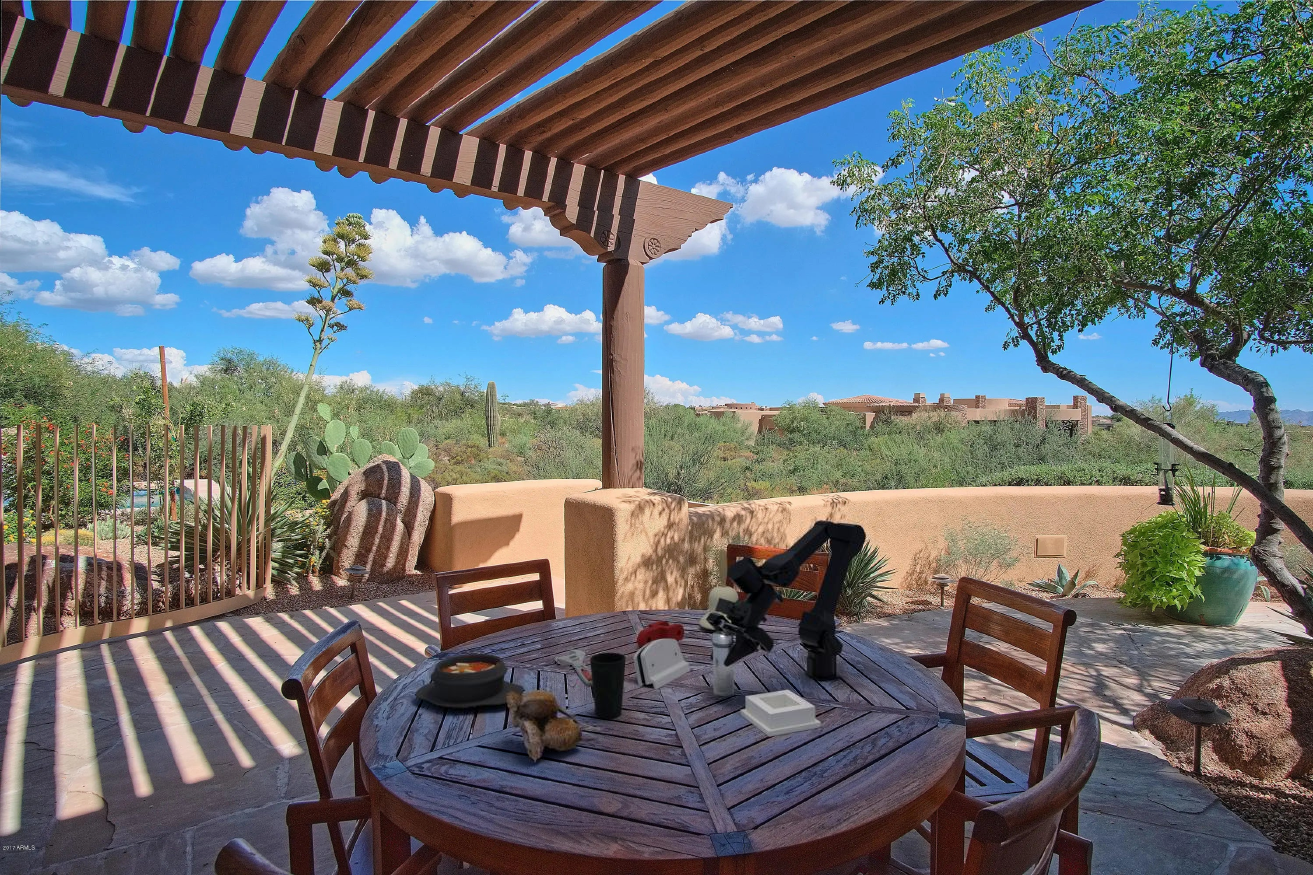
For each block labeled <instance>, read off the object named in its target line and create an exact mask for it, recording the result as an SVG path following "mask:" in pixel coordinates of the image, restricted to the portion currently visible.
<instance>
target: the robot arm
mask: <svg viewBox="0 0 1313 875" xmlns="http://www.w3.org/2000/svg"><path fill="white" fill-rule="evenodd" d="M866 538H867V534H866V532H865V529H864V528H863V526H862V525H860V524H854V523H848V522H838V523H837V522H834V521H830V520H823V519H821V520H817V521H815V522H814V523H813V526H812V527H811V528H810V529H809V530H808V531H806V532H805V533H804V534H803V535H802V536H801V537H800V538H799V539H797V541H795V542H794V543H793V544H792V545H791V546H790V547H789V548H788V549H787V550H786V551H785V550H784V552H781V553H778V554H775V555H773V556H771V557H769V558H768V559H767V560H765V561H764V562H763V563H762V564H761V565H757V564H756V563H755V561H754V559H753V558H752V557H751V556H746V555H745V556H743V558H742V559H739V560H738V561H736V562H734V563H733V564H731V565H730V567H729V568H728V569H727V577H728V579H730V580H731V582H732V583H733V584H734V585H735V587H737V588H738V589H739V591H740V592H741V593H743V594H744V595H747V596H746V597H745V599H744V600H741V599H738V600H737V601H736V602H732V601H729V600H726V599H722V598H719V600H718V603H717V606H716V609H715V611H716V612H721V613H723V614H726V615H727V616H726V617H727V619H728V620H730V621H731V623H730V622H729V621H728V620H727V619H726V618H725V617H724V616H723V615H721V614H718V613H715V612H713V613H710V614H709V615H708V617H707V618H706V621H707V622H708V623H709V624H710V625H711V626H712V627H713V628H714V629H715V630H714V632H717V631H728V632H732V633H733V635H734V634H735V640H734V646H733V647H732V649H731V651H730V652H729V654H728V656H727V658H726V660H725V662H724V665H725V666H726V667H728V666H730V665H732V664H733V663H734V664H735V663H737V662H739V661H740V660H741V659H744V658H745V657H748V656H750V655H751V654H753V653H758V652H759V649H760V650H761V651H762V652H765V653H768V654H770V653H771V652H772V650H773V648H774V646H775V642H774V641H775V640H774V639H773V638H772V637H771V636H770V634H769V633H768V632H767V631H765V629H764V628H762V627H760V624H761V623H764V624H765V623H766V622H767V620H768V618H767V617H766V615H767V614H768V612H769V610H770V609H771V607H772V606H773V604H774V602H776V603H780V604H783V603H784V597H783V594H782V593H783V592H782V590H779V589H776V588H775V587H774V586H777V587H781V588H788V587H790V586H791V585H793V583H794V582H795V580H796V579H797V578H798V577H799V575H800V571H801V567H802V566H803V565H804V564H805V563H806V562H807V561H808V560H809V559H810V558H811V557H812V556H813V555H814V554H815V553H816V552H817V551H818V550H819V549H821V547H823V546H824V544H826V543H827V542H828V541H829V548H830V552H831V553H830V556H829V560H828V564H827V568H826V570H825V573H824V576H823V579H822V582H821V585H820V588H819V591H818V594H817V596H816V600H815V603H814V606H813V607H812V608H811V609H810V610H809V611H806V610H804V611H803V612H802V613H801V618H800V620H799V623H798V625H797V627H798V631H797V632H798V633H797V634H798V636H799V639H800V641H801V644H802V647H803V649H805V650H807V656H806V670H804V674H805V675H808V676H809V677H811V678H813V679H815V680H816V681H819V682H822V681H827V680H834V679H840V678H841V677H842V676H841V675H840V674H838V673H837V672H838V671H837V667H838V666H837V665H838V664H837V656H838V655H840V654H842V652H843V648H844V645H843V643H842V642H841V640H839V638H837V636H836V629H837V625H836V624H837V623H836V619H835V611H836V607H837V605H838V601H839V598H840V596H841V592H842V588H843V586H844V583H845V581H846V580H845V579H846V577H847V574H848V570H849V568H850V565H851V562H852V560H853V559H854V558H855V557H856V556H857V555H859V553H860V552H861V551H862V549H863V547H864V545H865V542H866ZM736 629H737V630H736ZM758 647H760V648H759V649H758ZM709 658H710V660H711V661H712V662H713V649H712V650H711V654H710V657H709Z"/></svg>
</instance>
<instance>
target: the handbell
mask: <svg viewBox="0 0 1313 875" xmlns="http://www.w3.org/2000/svg"><path fill="white" fill-rule="evenodd" d="M718 573H719V581H720V586H716V587H713V588H712V589H711V590H710V592H709V594H708V610H707V612H706V614H704V615H703V616H702V618H701V619H700V621H699V622H698V623H699V625H700V626H701V627H703V628H704V629H708V630H712V631H713V630H714V631H715V629H714V628H713V627H712V626H711V625H710V624H709V623H708V622H707V621H706V618H707V617H708V615H709V614H710V613H713V612H715V613H718V614H721V615H723V616H724V617H725V618H726V619H727V617H726V616H727V615H726V614H723V613H721V612H716V611H715V609H716V606H717V603H718V600H719V598H722V599H726V600H729V601H732V602H736V601H737V600H739V594H738V592H737V591H736V590H735V588H734V587H733V588H732V587H731V586H727V585H726V584H727V577H728V558H727V551H726V549H725V548H721V549H720V551H719V558H718ZM727 620H728V619H727ZM728 621H729V622H730V623H731V621H730V620H728ZM736 630H737V629H736Z"/></svg>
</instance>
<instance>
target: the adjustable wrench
mask: <svg viewBox="0 0 1313 875" xmlns="http://www.w3.org/2000/svg"><path fill="white" fill-rule="evenodd" d="M570 654H571V655H570ZM585 658H586V652H584V651H583V650H579V649H570V652H569V654H568V655H563V656H560V657H559V656H555V657H554V662H555V661H556V662H557V663H558V664H559V663H562V664H570V665H572V666H571V667H572V668H575V669H574V670H575V672H576V674H578V676H579V678H580V680H582V682H583V683H584V684H585V685H586V686H588V687H590V686H592V687H593V684H592V674H591V669H590V668H589V667H588V666H587V665H586V664H585V663H584V662H585V661H586V659H585ZM584 660H585V661H584ZM583 661H584V662H583ZM556 662H555V663H556ZM557 663H556V664H557ZM570 665H569V666H570Z"/></svg>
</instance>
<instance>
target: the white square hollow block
mask: <svg viewBox="0 0 1313 875" xmlns="http://www.w3.org/2000/svg"><path fill="white" fill-rule="evenodd" d="M744 697H745V699H744V700H745V708H743V709H740V711H739V712H740V716H742V717H743V718H745V719H746V720H747V721H748V722H749V723H751V724H752V725H754V726H755V728H757V729H759V731H761V732H762V733H764V734H765V735H766V736H768V737H769V738H770V737H775V736H780V735H786V734H791V733H796V732H803V731H808V730H813V729H818V728H821V727H822V723H821V721H820V720H818V719H817V718H816V706H815V705H814V704H812V703H810V702H808V700H805V699H804V698H802V697H801V696H799V695H797V694H796V693H794V692H792V691H791V690H789V689H784V690H778V691H771V692H765V693H758V694H753V695H746V696H744Z"/></svg>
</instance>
